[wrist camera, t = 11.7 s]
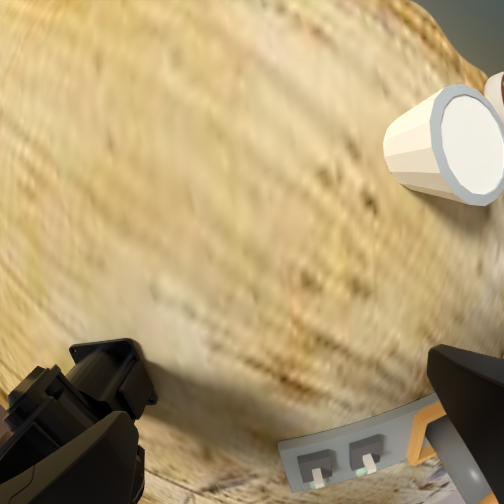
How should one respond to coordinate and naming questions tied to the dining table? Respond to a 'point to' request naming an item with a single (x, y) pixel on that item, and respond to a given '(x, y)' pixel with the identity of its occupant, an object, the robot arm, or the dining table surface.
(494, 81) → the milk bottle
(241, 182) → the dining table surface
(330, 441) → the breaker panel
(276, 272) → the dining table surface
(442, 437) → the grey orange cylinder
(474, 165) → the white tapered cup
